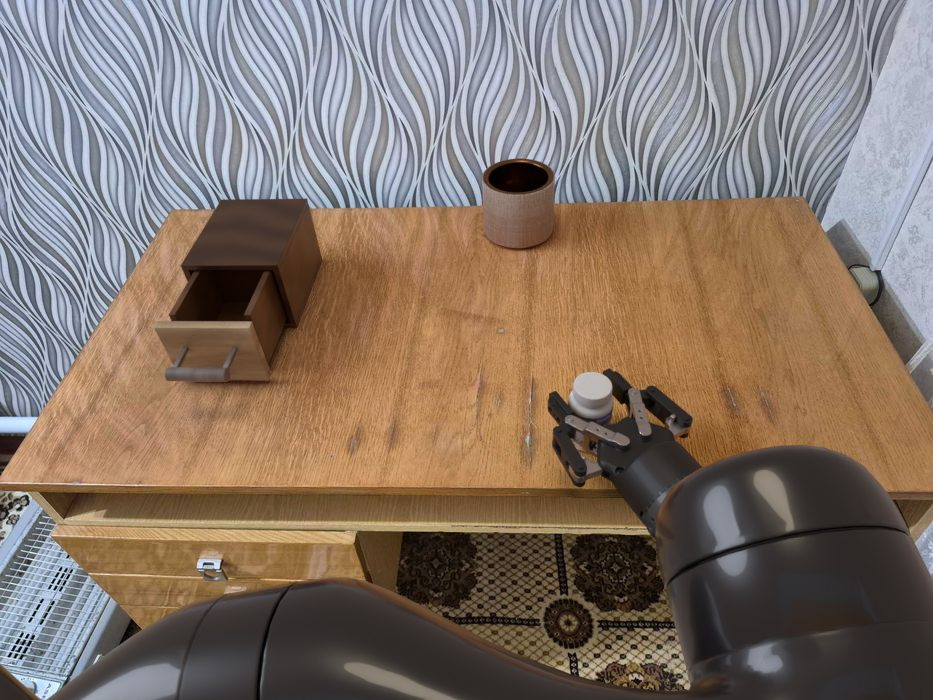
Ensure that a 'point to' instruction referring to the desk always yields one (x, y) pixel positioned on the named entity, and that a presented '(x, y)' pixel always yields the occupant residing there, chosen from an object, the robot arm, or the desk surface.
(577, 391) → the pill bottle
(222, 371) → the drawer
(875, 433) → the desk surface
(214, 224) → the cabinet
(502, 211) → the planter
